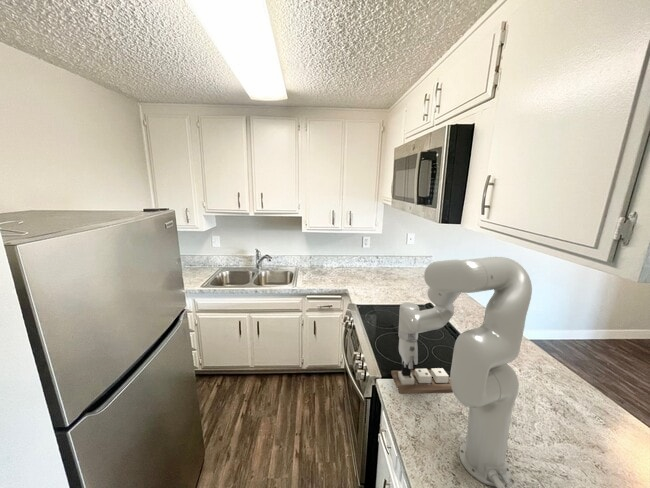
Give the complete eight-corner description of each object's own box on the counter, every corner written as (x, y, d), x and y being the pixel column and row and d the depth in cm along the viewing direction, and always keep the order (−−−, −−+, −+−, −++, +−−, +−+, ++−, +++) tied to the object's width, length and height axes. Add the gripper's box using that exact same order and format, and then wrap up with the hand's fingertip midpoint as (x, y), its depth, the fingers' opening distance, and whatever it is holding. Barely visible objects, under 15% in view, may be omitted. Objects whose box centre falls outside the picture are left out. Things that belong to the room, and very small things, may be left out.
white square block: (414, 385, 105) (414, 378, 104) (401, 386, 105) (402, 378, 104) (409, 377, 110) (410, 370, 109) (398, 377, 109) (398, 371, 109)
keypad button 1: (448, 382, 105) (448, 375, 104) (436, 382, 105) (436, 375, 104) (442, 374, 110) (442, 367, 109) (430, 374, 110) (431, 367, 109)
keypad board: (457, 392, 102) (457, 389, 101) (399, 393, 101) (399, 390, 101) (442, 372, 114) (443, 369, 113) (391, 373, 113) (391, 370, 113)
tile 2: (431, 382, 105) (431, 375, 104) (419, 383, 105) (419, 376, 104) (426, 374, 110) (426, 368, 109) (414, 375, 109) (414, 368, 109)
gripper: (424, 343, 97) (422, 387, 99) (410, 324, 111) (408, 363, 114) (405, 343, 96) (402, 387, 99) (393, 324, 111) (392, 363, 114)
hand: (406, 374), depth 107 cm, fingers closed
